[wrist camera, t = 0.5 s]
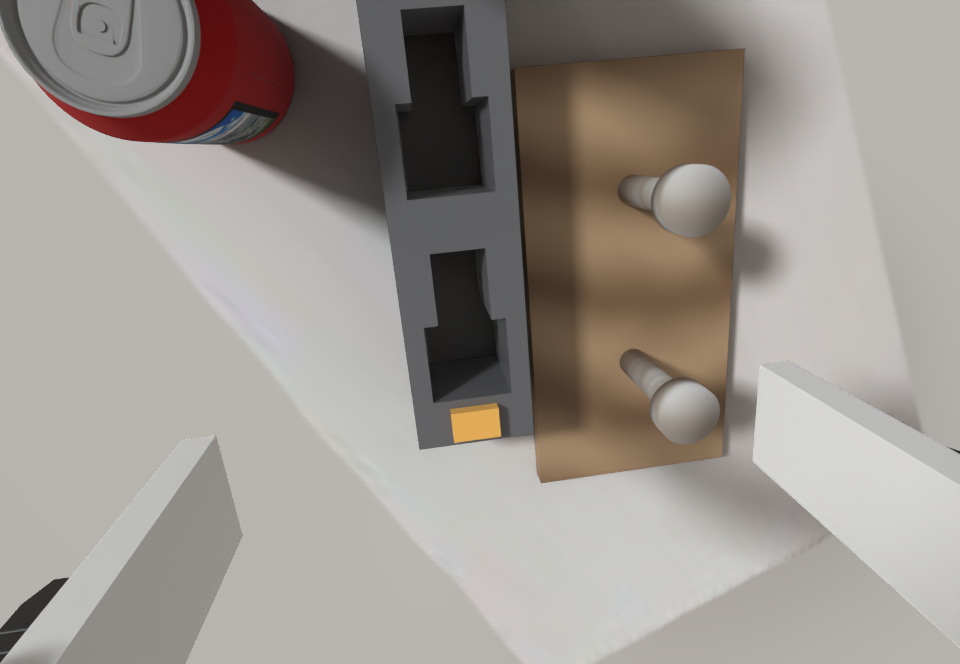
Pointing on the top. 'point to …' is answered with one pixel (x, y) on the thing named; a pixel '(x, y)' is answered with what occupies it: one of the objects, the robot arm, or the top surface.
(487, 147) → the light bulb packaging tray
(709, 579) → the top surface
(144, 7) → the beverage can
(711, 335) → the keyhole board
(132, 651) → the robot arm
